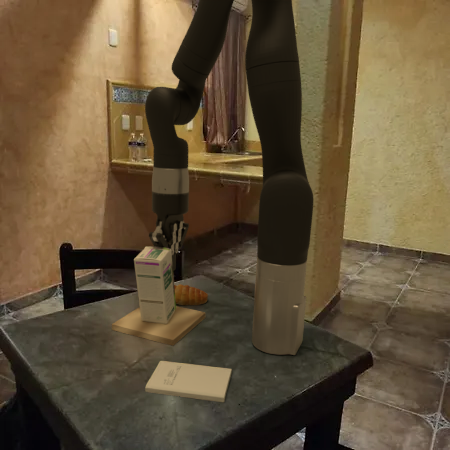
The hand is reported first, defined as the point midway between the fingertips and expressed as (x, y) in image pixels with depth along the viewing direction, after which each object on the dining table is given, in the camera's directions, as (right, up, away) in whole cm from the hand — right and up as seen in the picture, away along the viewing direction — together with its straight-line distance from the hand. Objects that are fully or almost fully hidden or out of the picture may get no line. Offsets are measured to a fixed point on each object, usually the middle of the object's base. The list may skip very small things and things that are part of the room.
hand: (169, 270), depth 93 cm
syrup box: (-2, -9, -2) cm, 10 cm away
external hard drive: (+6, -17, -22) cm, 28 cm away
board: (-2, -11, -2) cm, 11 cm away
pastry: (+2, -9, +11) cm, 14 cm away
